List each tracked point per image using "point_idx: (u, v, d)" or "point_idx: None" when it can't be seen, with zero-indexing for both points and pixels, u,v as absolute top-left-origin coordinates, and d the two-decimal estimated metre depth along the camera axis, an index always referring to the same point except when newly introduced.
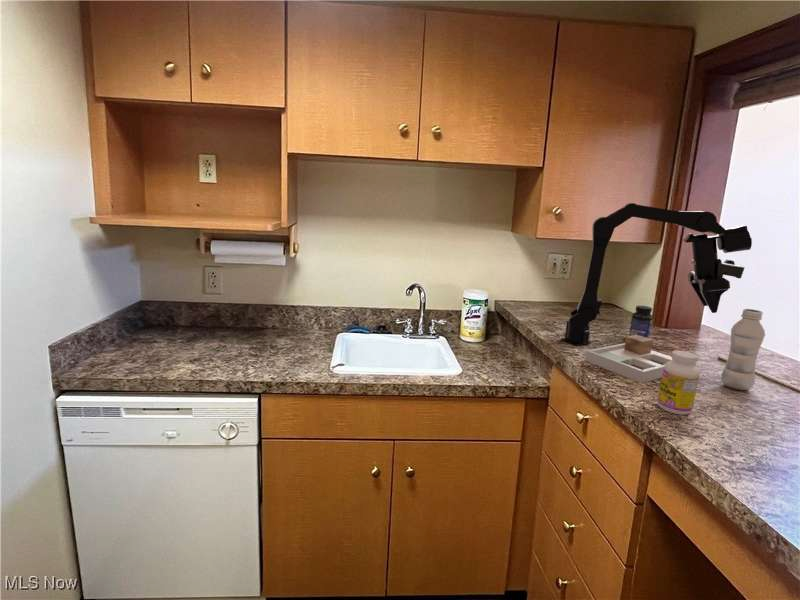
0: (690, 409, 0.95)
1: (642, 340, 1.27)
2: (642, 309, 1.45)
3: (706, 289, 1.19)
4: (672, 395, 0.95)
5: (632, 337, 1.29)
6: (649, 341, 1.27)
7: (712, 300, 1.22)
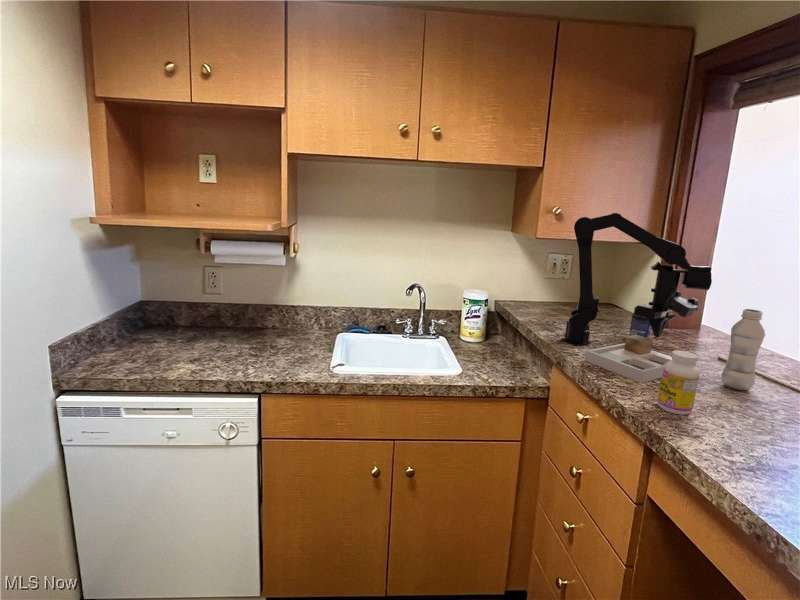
0: (690, 409, 0.95)
1: (642, 340, 1.27)
2: None
3: (635, 312, 1.29)
4: (672, 395, 0.95)
5: (632, 337, 1.29)
6: (649, 341, 1.27)
7: (654, 324, 1.32)
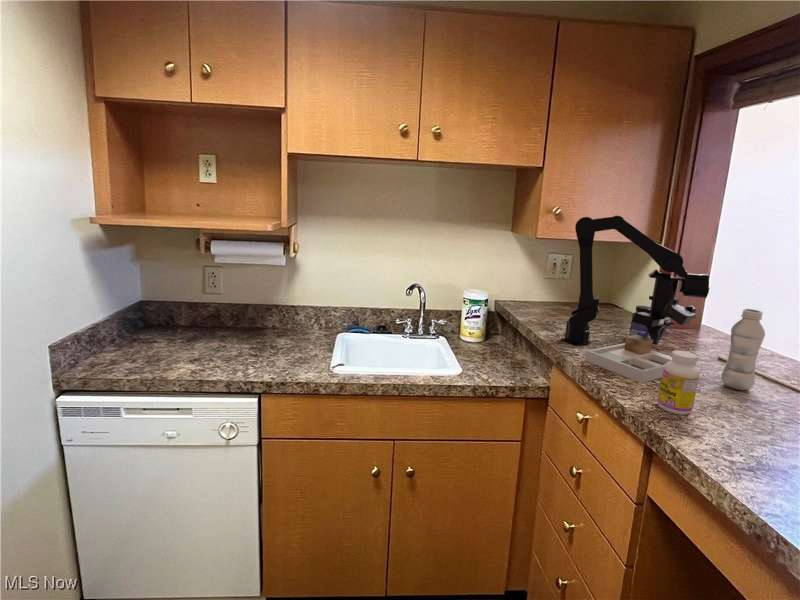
0: (690, 409, 0.95)
1: (642, 340, 1.27)
2: (642, 309, 1.45)
3: (632, 320, 1.29)
4: (672, 395, 0.95)
5: (632, 337, 1.29)
6: (649, 341, 1.27)
7: (652, 332, 1.33)
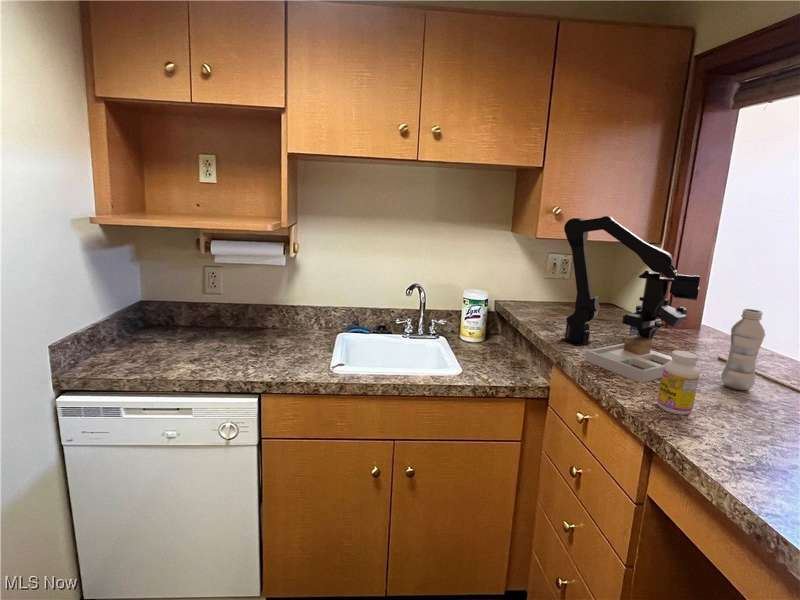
0: (690, 409, 0.95)
1: (641, 340, 1.27)
2: None
3: (623, 322, 1.27)
4: (672, 395, 0.95)
5: (631, 337, 1.29)
6: (648, 341, 1.27)
7: (643, 333, 1.30)
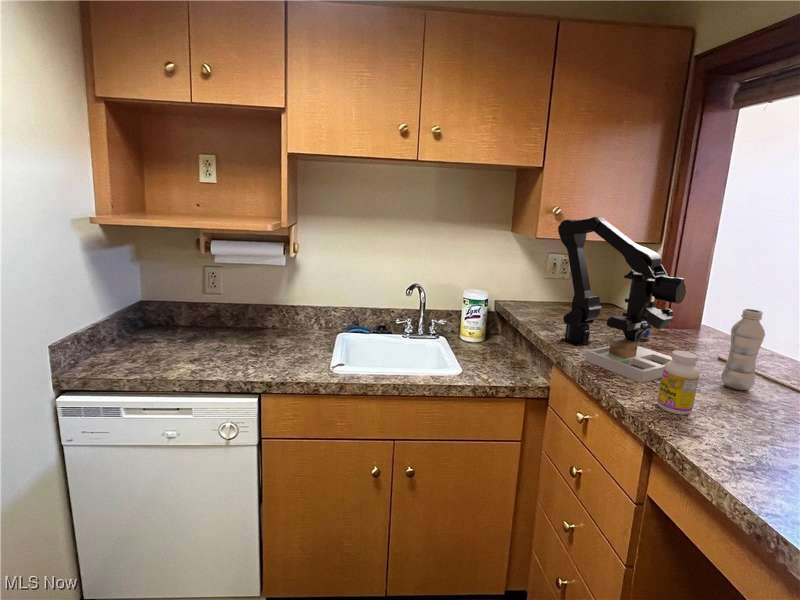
0: (690, 409, 0.95)
1: (627, 343, 1.23)
2: None
3: (608, 324, 1.24)
4: (672, 395, 0.95)
5: (617, 340, 1.26)
6: (634, 344, 1.24)
7: (629, 336, 1.27)
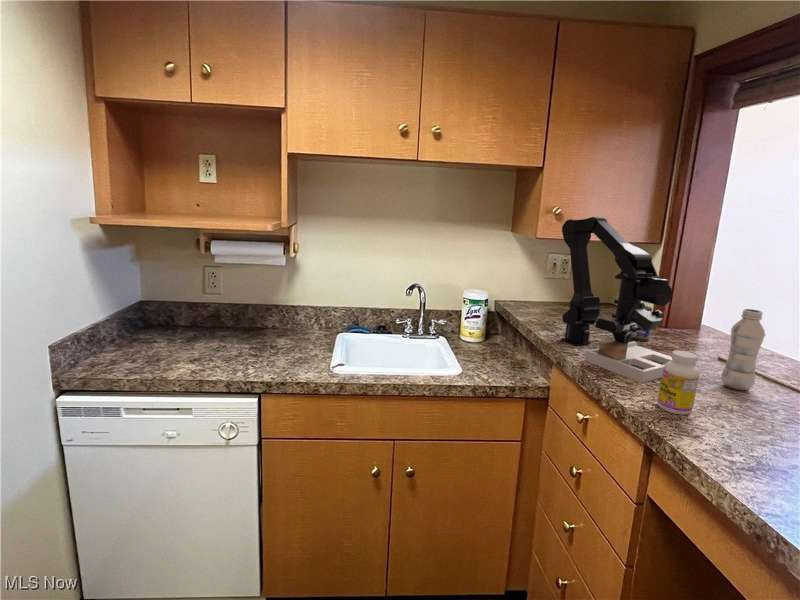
0: (690, 409, 0.95)
1: (616, 345, 1.21)
2: None
3: (596, 326, 1.21)
4: (672, 395, 0.95)
5: (606, 342, 1.23)
6: (623, 347, 1.21)
7: (618, 338, 1.25)
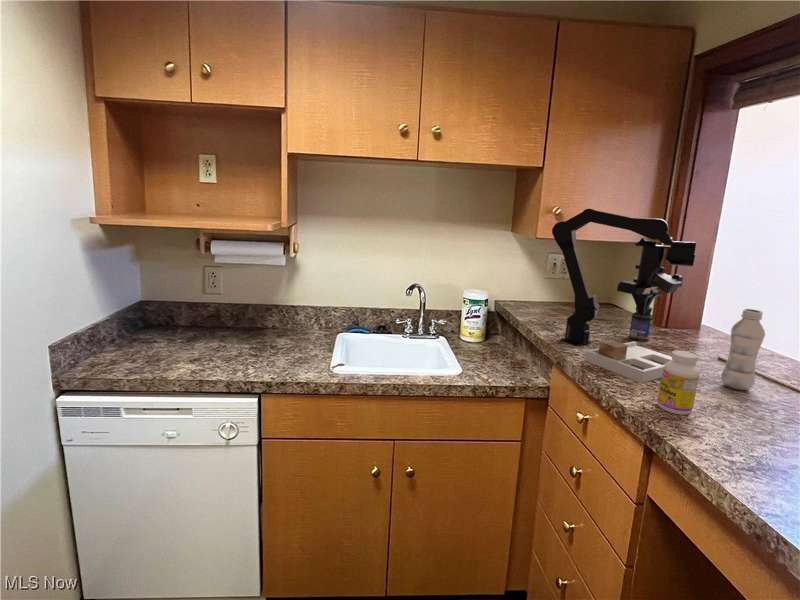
0: (690, 409, 0.95)
1: (616, 345, 1.21)
2: None
3: (617, 289, 1.28)
4: (672, 395, 0.95)
5: (606, 342, 1.23)
6: (623, 347, 1.21)
7: (639, 302, 1.30)
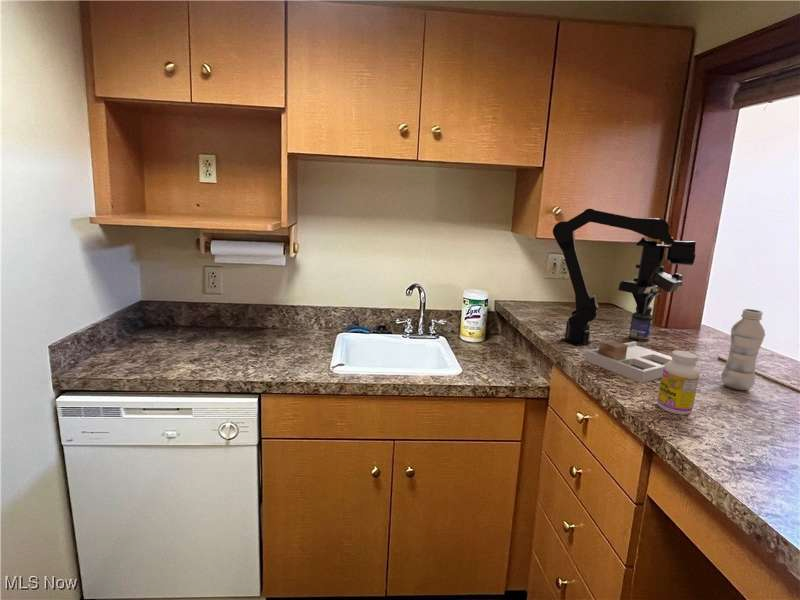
0: (690, 409, 0.95)
1: (616, 345, 1.21)
2: None
3: (619, 288, 1.29)
4: (672, 395, 0.95)
5: (606, 342, 1.23)
6: (623, 347, 1.21)
7: (639, 301, 1.32)
